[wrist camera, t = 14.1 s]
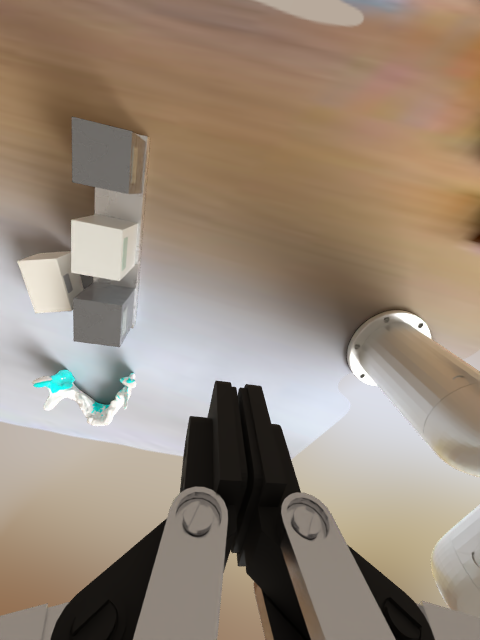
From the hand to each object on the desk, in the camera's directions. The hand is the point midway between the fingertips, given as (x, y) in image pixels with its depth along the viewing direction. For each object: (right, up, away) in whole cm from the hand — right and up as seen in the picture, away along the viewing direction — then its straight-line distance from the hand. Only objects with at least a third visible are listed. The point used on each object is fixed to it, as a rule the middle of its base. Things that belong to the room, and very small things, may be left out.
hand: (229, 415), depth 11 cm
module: (-14, +13, +23) cm, 30 cm away
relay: (-22, +9, +26) cm, 35 cm away
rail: (-14, +13, +25) cm, 31 cm away
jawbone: (-20, -6, +33) cm, 39 cm away
